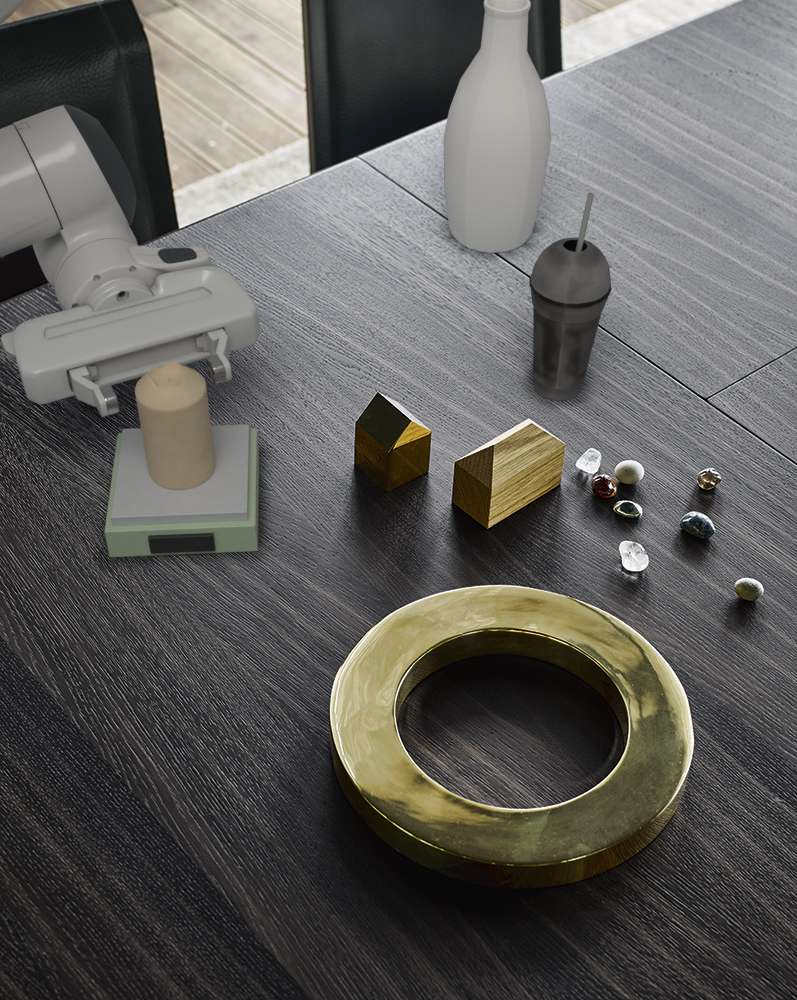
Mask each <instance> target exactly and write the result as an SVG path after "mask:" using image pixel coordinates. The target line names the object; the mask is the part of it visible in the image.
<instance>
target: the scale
mask: <svg viewBox="0 0 797 1000" xmlns="http://www.w3.org/2000/svg"><path fill="white" fill-rule="evenodd" d="M211 429H212V438H213V446H214V454H215V469H214V472H213V474H212V475H211V477H210V478H209V479H208V480H207V481H205V482H204V483H202V484H200V485H198V486H196V487H193V488H189V489H183V490H174V489H168V488H165V487H162V486H160V485H158V484H157V483H156V482H155V481H154V480H153V479H152V478H151V476H150V473H149V470H148V465H147V459H146V454H145V448H144V442H143V436H142V430H141V427H137V428H135V427H134V428H122V430H121V433H120V432H119V433H117V436H116V443H115V451H114V459H113V464H112V465H113V466H112V472H111V473H112V474H111V480H110V488H109V493H108V494H109V495H108V502H107V510H106V518H105V524H104V532H103V533H104V536H105V541H106V546H107V551H108V555H109V558H127V557H128V558H129V557H151V556H152V557H153V556H173V555H174V556H175V555H178V556H179V555H197V554H198V555H199V554H223V553H243V552H245V553H247V552H258V551H259V500H260V499H259V497H260V496H259V495H260V494H259V493H260V448H259V436H258V428H256V427H253V428H250V424H249V423H248V424H247V423H246V424H245V423H244V424H219V425H218V424H217V425H211Z"/></svg>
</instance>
